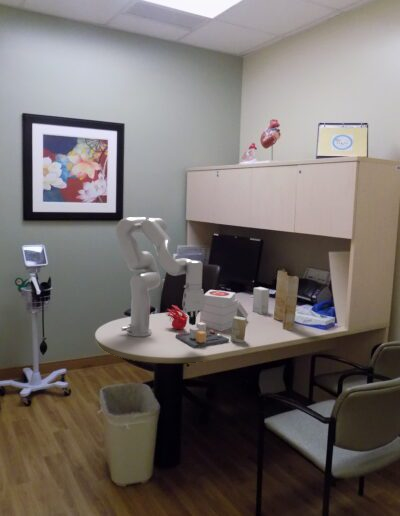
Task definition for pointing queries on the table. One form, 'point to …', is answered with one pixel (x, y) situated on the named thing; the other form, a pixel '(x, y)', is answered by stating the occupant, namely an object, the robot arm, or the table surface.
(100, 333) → the table surface
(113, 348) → the table surface
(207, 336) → the panel
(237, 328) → the skincare box
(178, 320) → the heart organ
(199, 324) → the ivory slider
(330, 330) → the table surface
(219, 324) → the pizza boxes
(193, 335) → the grey slider
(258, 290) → the skincare box
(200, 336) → the orange slider
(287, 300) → the parchment
